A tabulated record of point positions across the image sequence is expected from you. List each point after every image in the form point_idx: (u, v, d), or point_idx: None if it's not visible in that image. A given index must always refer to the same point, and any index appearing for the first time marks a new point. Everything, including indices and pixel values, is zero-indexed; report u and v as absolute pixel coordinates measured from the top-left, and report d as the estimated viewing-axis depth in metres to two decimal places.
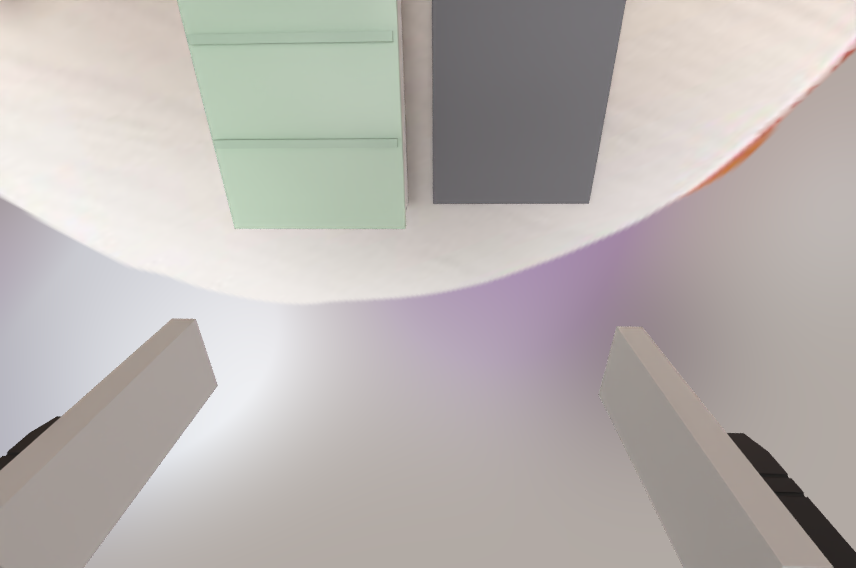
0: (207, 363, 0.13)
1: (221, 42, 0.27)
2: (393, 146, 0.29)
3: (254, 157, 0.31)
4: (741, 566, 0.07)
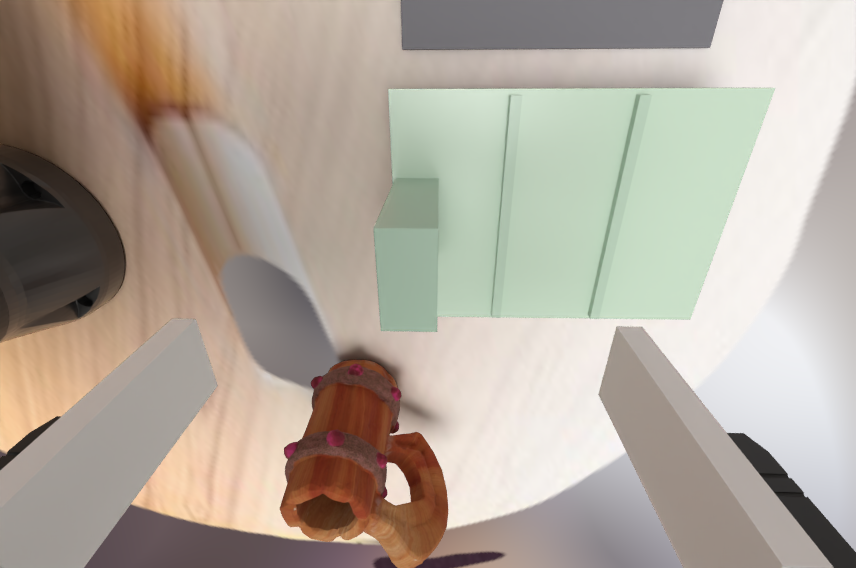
0: (207, 363, 0.13)
1: (501, 288, 0.26)
2: (649, 101, 0.21)
3: (615, 280, 0.26)
4: (741, 566, 0.07)
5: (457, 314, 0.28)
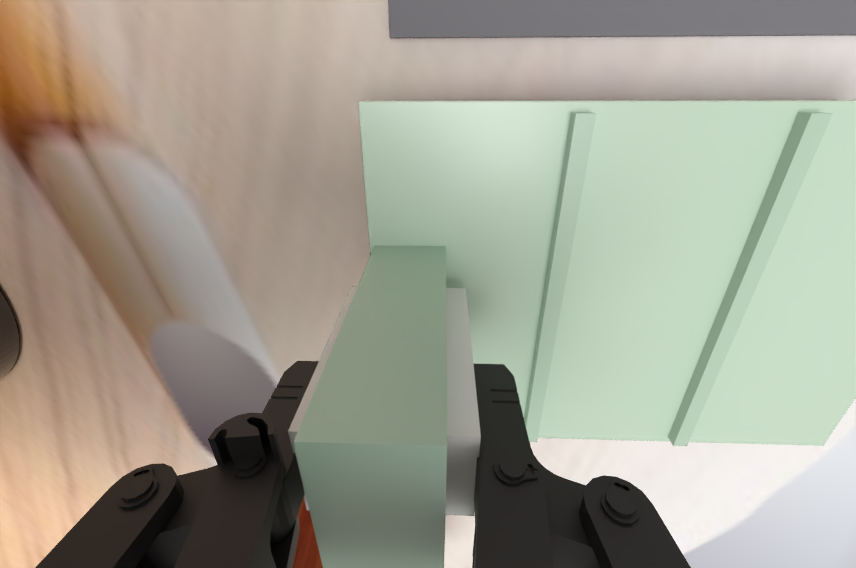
0: None
1: (541, 404, 0.17)
2: (825, 124, 0.12)
3: (716, 394, 0.17)
4: None
5: None
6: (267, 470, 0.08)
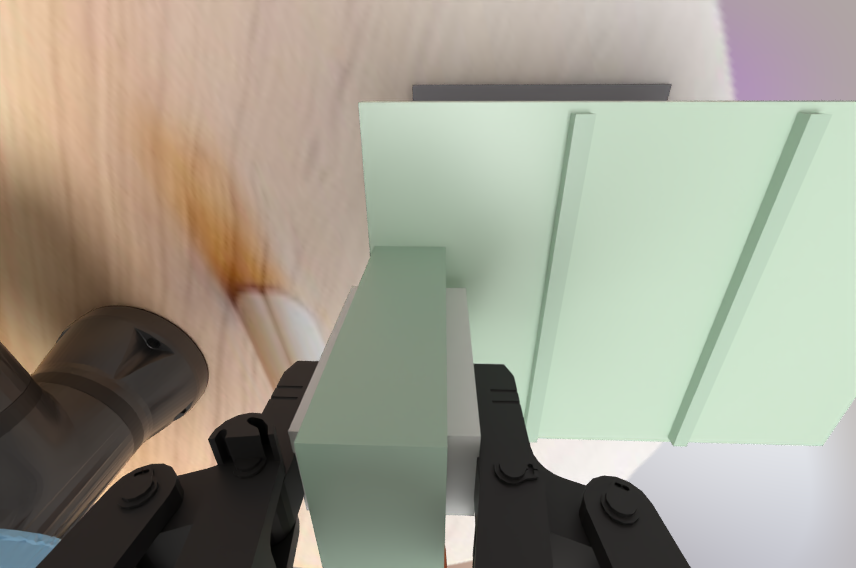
0: None
1: (541, 405, 0.17)
2: (825, 124, 0.12)
3: (716, 394, 0.17)
4: None
5: None
6: (267, 470, 0.08)
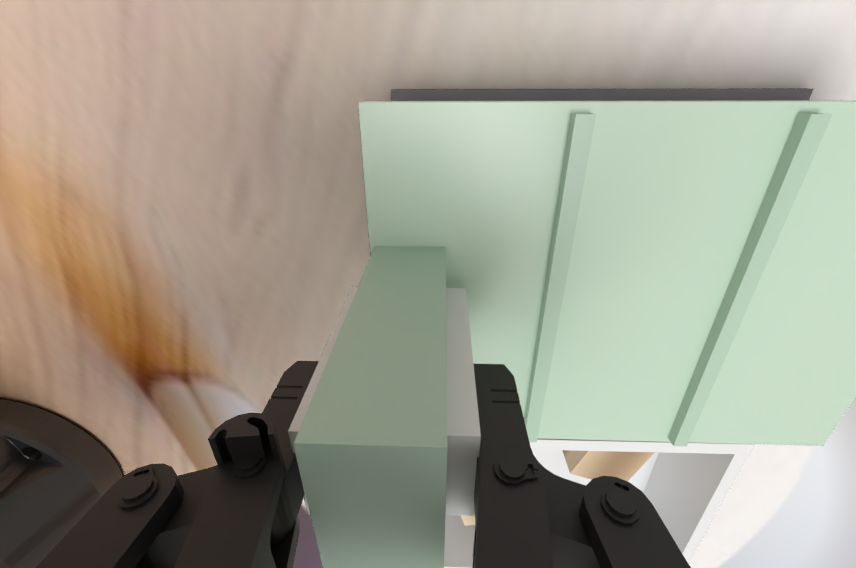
0: None
1: (541, 405, 0.17)
2: (825, 124, 0.12)
3: (716, 394, 0.17)
4: None
5: None
6: (267, 470, 0.08)
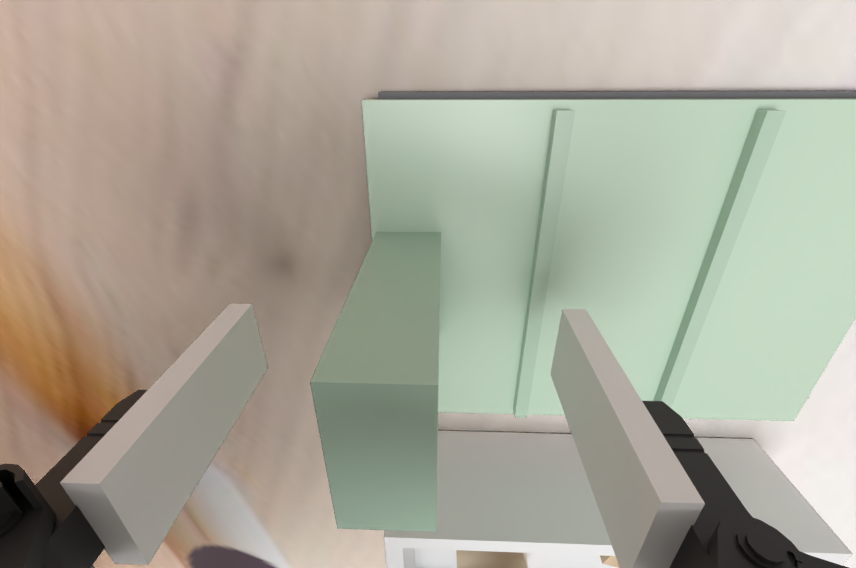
0: (259, 346, 0.14)
1: (530, 381, 0.18)
2: (780, 120, 0.13)
3: (693, 371, 0.18)
4: (637, 509, 0.08)
5: (465, 409, 0.20)
6: (25, 522, 0.07)
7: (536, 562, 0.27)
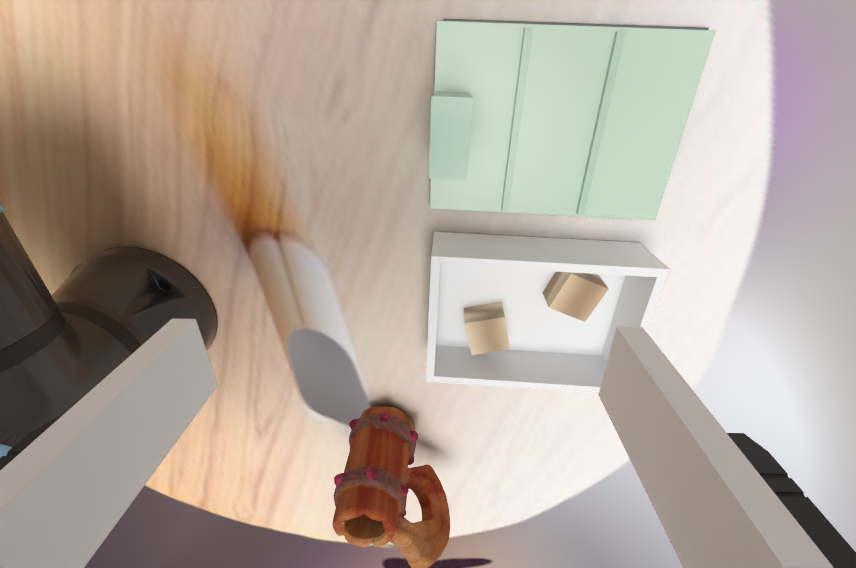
0: (207, 363, 0.13)
1: (510, 185, 0.35)
2: (624, 36, 0.29)
3: (597, 184, 0.35)
4: (741, 566, 0.07)
5: (474, 208, 0.36)
6: None
7: (512, 338, 0.43)
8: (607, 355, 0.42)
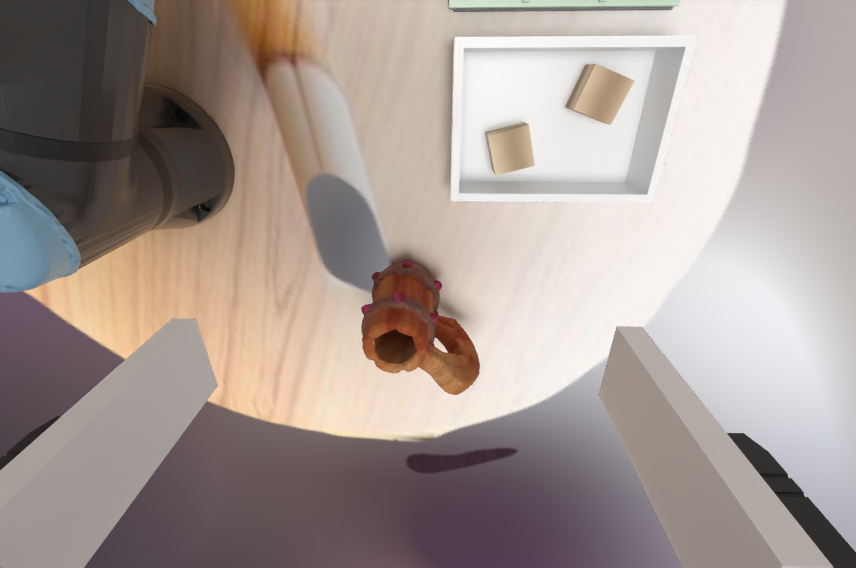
0: (207, 363, 0.13)
1: None
2: None
3: None
4: (741, 566, 0.07)
5: (495, 4, 0.36)
6: None
7: (535, 167, 0.43)
8: (632, 175, 0.41)
